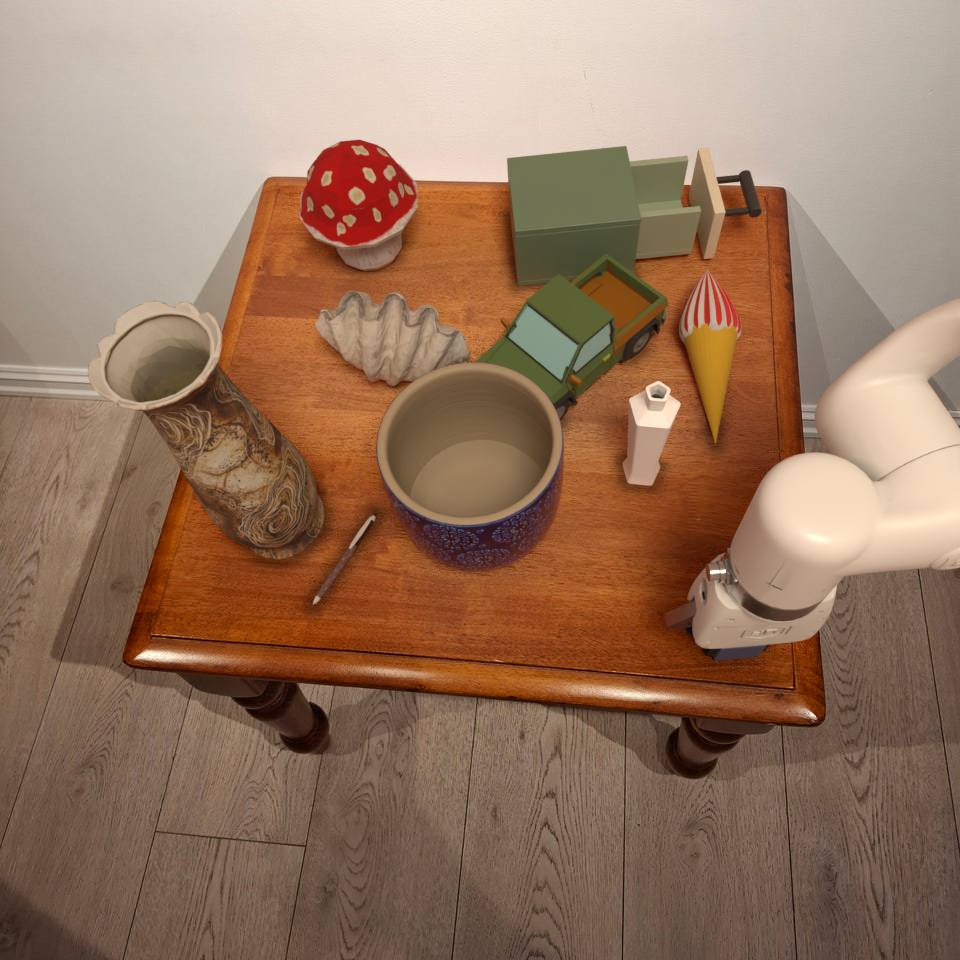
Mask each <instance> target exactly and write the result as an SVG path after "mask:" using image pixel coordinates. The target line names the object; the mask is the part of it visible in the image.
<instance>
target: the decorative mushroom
mask: <svg viewBox="0 0 960 960" xmlns="http://www.w3.org/2000/svg"><path fill="white" fill-rule="evenodd" d="M299 197H300V198H299V217H298V218H299V220H300V221H301V222H302V224H303V225H304V226H305V227H306V230H308V231H309V233H310V234H311V235H312V237H313V238H314V239H315V240H316V241H318V242H320V243H324V244H325V245H329V246H331V247H334V248H336V252H337V254H338V255H339V256H340V258H341V259H342V261H344V263H345V264H346V265H348V266H349V267H352V268H354V269H357V270H360V271H362V272H374V271H380V270H382V269H384V268H386V267H387V266H389V265H391V264H392V262H394V260H395V259H396V257H397V256H398V254H399V252H400V251H401V250H402V248H403V234H402V233H403V231H404V230H405V228H406V227H407V226H408V224H409V222H410V221H411V220H412V219H413V217H414V215H415V214H416V212H417V210H418V208H419V204H418V203H419V202H418V201H419V200H418V183H417V181H416V180H415V179H414V178H413V177H412V176H411V175H410V174H409V172H407V170H406V169H405V168H404V167H403V166H402V164H400V163H398V162H397V161H396V160H395V159H394V158H393V156H392V155H391V154H390V153H389V151H387V149H386V148H384V147H382V146H380V145H378V144H375V143H372V142H369V141H365V140H362V139H351V140H340V141H337V142H336V143H334V144H332V145H330V146H328V147H326V148H324V149H322V150H321V152H320V154H318V156H317V157H316V159H315V160H314V161H313V162H312V164H310V166H309V168H308V170H307V173H306V184H305V187H304V188H303V190H302V191H301V193H300V196H299Z"/></svg>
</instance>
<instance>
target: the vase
mask: <svg viewBox="0 0 960 960" xmlns="http://www.w3.org/2000/svg"><path fill="white" fill-rule="evenodd" d="M96 346H97V350H98V356H99V357H97V358H95V359H92V360H90V362H89V363H88V365H87V377H88V380H89V383H90V386H91V387H92V389H94V391H95V392H96V393H97V394H98V395H99V396H100V397H102V398H104V399H106V400H108V401H110V402H112V403H114V404H116V405H117V406H118V408H120V409H126V410H131V411H132V410H133V411H140V412H141V411H142V412H143V414H144V415H145V416H146V417H147V418H148V420H149V421H150V422H151V424H152V425H153V427H154V428H155V429H156V431H157V432H158V434H159V436H160V437H161V439H162V440H163V441H164V443H165V445H166V447H167V448H168V449H169V451H170V453H171V454H172V456H173V458H174V460H175V462H176V463H177V464H178V466H179V468H180V470H181V471H182V473H183V475H184V476H185V478H186V480H187V482H188V483H189V485H190V487H191V489H192V490H193V492H194V494H195V496H196V497H197V499H198V501H199V503H200V504H201V506H202V507H203V509H204V511H205V513H206V514H207V516H209V518H210V519H211V521H212V522H213V523H214V524H215V525H216V527H218V529H219V530H220V531H222V533H224V534H225V535H226V536H227V537H229V538H230V539H231V540H233V541H234V542H236V543H238V544H240V545H242V546H244V547H246V548H249V550H251V551H252V552H254V554H257V555H259V556H260V557H263V558H266V559H269V560H270V559H271V560H284V559H290V558H291V557H292V558H293V557H295V556H297V555H299V554H300V553H303V552H304V551H305V550H306V549H308V548H309V547H310V546H311V544H313V542H314V541H315V540H316V539H317V538H318V536H319V534H320V533H321V530H322V528H323V526H324V520H325V517H326V516H325V508H324V507H325V506H324V503H323V501H322V499H321V497H320V496H319V494H318V489H317V488H318V487H317V484H316V479H315V476H314V474H313V472H312V470H311V468H310V466H309V464H308V463H307V461H306V460H305V458H304V457H303V455H302V454H301V452H300V451H299V450H298V448H297V447H296V446H295V445H294V444H293V443H292V442H291V440H289V439H288V438H287V437H286V435H284V434H283V432H281V430H279V429H278V427H277V426H275V424H273V422H272V421H271V420H269V418H268V417H266V415H265V414H264V413H263V412H262V411H260V409H259V408H258V407H256V405H255V404H254V403H253V402H252V401H251V400H250V399H249V398H248V397H247V396H246V395H245V394H244V392H242V390H241V389H240V388H239V387H238V386H237V385H236V383H234V382H233V380H232V379H231V378H230V377H229V376H228V375H227V373H226V372H225V371H224V370H223V368H221V366H220V365H219V361H220V356H221V353H222V348H223V332H222V327H221V325H220V323H219V321H218V320H217V318H216V317H215V316H214V315H213V313H211V312H209V311H205V312H200V311H199V309H197V308H196V306H195V305H194V304H193V303H192V302H190V301H187V300H186V301H180V302H179V303H178V304H177V305H176V306H171V305H169V304H167V303H166V302H163V301H159V300H152V301H148V302H144V303H140V304H139V305H136V306H134V307H132V308H130V309H128V310H126V311H125V312H124V313H122V315H120V317H118V318H117V320H116V321H115V323H114V328H113V333H112V334H109V335H106V336H103V337H102V338H101V340H99V342H98V343H97V345H96Z"/></svg>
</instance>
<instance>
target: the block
mask: <svg viewBox="0 0 960 960" xmlns="http://www.w3.org/2000/svg"><path fill="white" fill-rule="evenodd" d="M766 646H767V645H758V646H746V647H733V648H719V649H716V651H715V652H714V654H712V659H713V661H715V662H717V661H728V660H737V659H738V660H739V659H750V658H751V659H752V658H758V657H759V655H760V654H761V653H762V652H764V651H763V649H764V648H765V647H766Z"/></svg>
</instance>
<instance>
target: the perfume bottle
mask: <svg viewBox="0 0 960 960" xmlns="http://www.w3.org/2000/svg"><path fill="white" fill-rule="evenodd" d="M671 391H672V389H671V388H670V387H669V386H667V385H666V384H665V383H663V382H662V381H660V380H657V381H654V382H653V383H651V384H649V385H647V386H645V390H643V391H641V392H639V393H638V394H635V395H633V396H631V397H630V398H629V400H628V423H627V424H628V425H627V426H628V427H627V450H626V451H627V454H626V458H625V459H624V460H623V461H622V464H621V465H622V468H623V471H624V475H625V480H626V483H628V484H630V485H639V486H649V487H650V486H653V485H654V483H655V481H656V478H657V476H658V474H659V472H660V469H661V465H660V462H659V461H660V458H661V455H662V454H663V450H664V448H665V446H666V444H667V441H668V437H669V435H670V433H671V430H672V427H673V426H674V423H675V420H676V417H677V416H678V413H679V409H680V407H681V402H680V401H679V400H678V399H676V398H675V397H674V396H672V395H671Z"/></svg>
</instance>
